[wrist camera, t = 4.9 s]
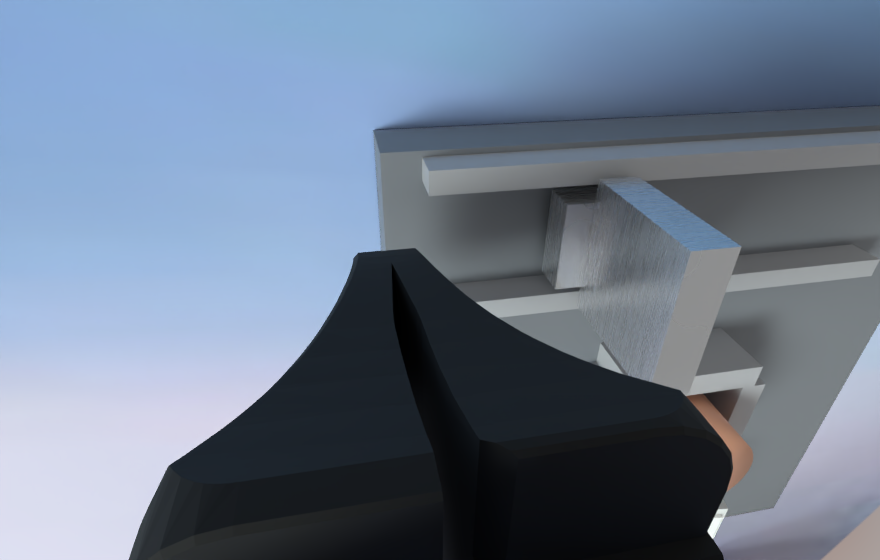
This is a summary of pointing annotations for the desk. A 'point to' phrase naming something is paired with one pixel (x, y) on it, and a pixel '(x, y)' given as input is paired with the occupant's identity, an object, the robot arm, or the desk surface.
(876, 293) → the panel
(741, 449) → the push button
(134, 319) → the desk surface
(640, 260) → the grey boxy piece
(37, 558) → the desk surface
